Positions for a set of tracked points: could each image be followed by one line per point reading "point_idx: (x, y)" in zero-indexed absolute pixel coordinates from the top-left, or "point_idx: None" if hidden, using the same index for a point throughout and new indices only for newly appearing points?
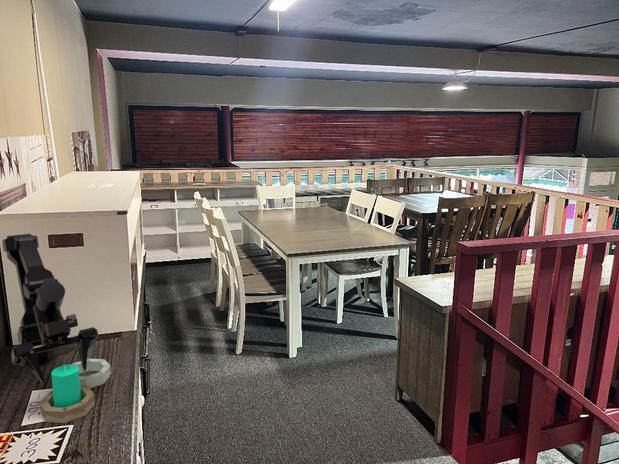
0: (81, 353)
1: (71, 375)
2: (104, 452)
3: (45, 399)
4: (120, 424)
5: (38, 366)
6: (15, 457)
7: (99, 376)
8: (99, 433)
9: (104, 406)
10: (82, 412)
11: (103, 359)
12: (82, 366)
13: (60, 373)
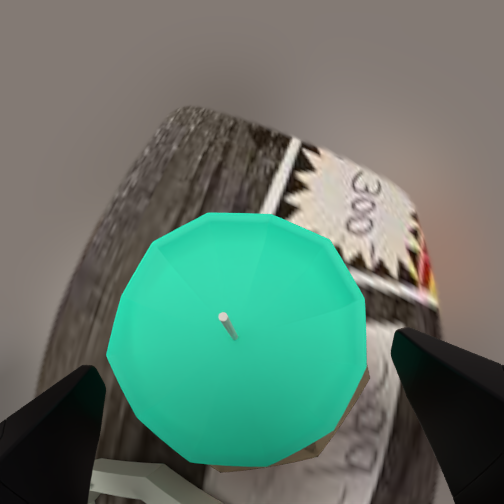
0: (30, 485)
1: (198, 224)
2: (206, 121)
3: None
4: (136, 188)
5: (501, 386)
6: (391, 184)
7: (93, 468)
8: (193, 175)
9: None
10: None
11: None
12: (92, 417)
13: (282, 330)
